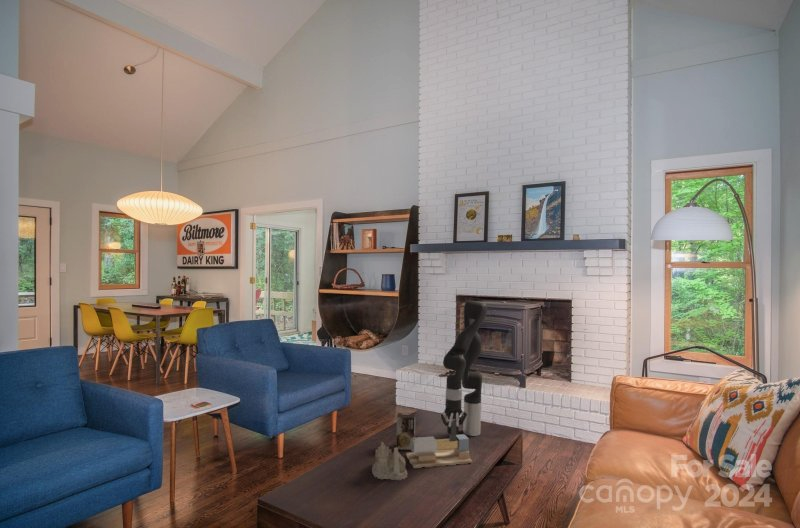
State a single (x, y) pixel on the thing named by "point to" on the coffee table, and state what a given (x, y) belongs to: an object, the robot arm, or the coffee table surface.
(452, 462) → the birch board
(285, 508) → the coffee table surface
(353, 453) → the coffee table surface
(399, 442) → the coffee box
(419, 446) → the grey and tan block
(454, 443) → the multicoloured piece
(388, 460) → the ceramic cottage
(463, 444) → the slate-blue socket
